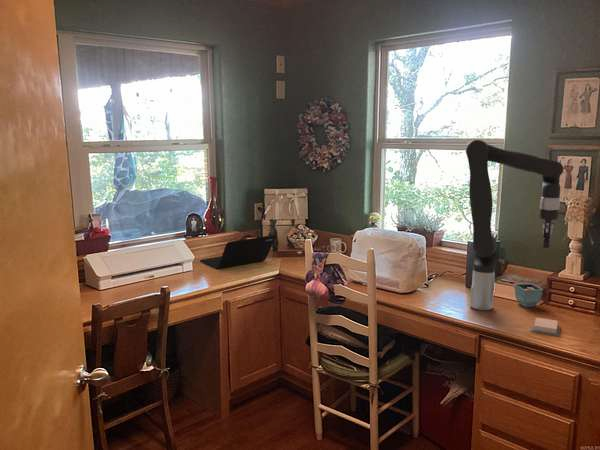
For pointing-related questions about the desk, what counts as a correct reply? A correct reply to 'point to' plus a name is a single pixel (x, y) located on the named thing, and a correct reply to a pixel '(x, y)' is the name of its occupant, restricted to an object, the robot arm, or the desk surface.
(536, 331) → the mat
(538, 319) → the tile
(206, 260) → the laptop
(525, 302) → the flower pot
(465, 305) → the desk surface
